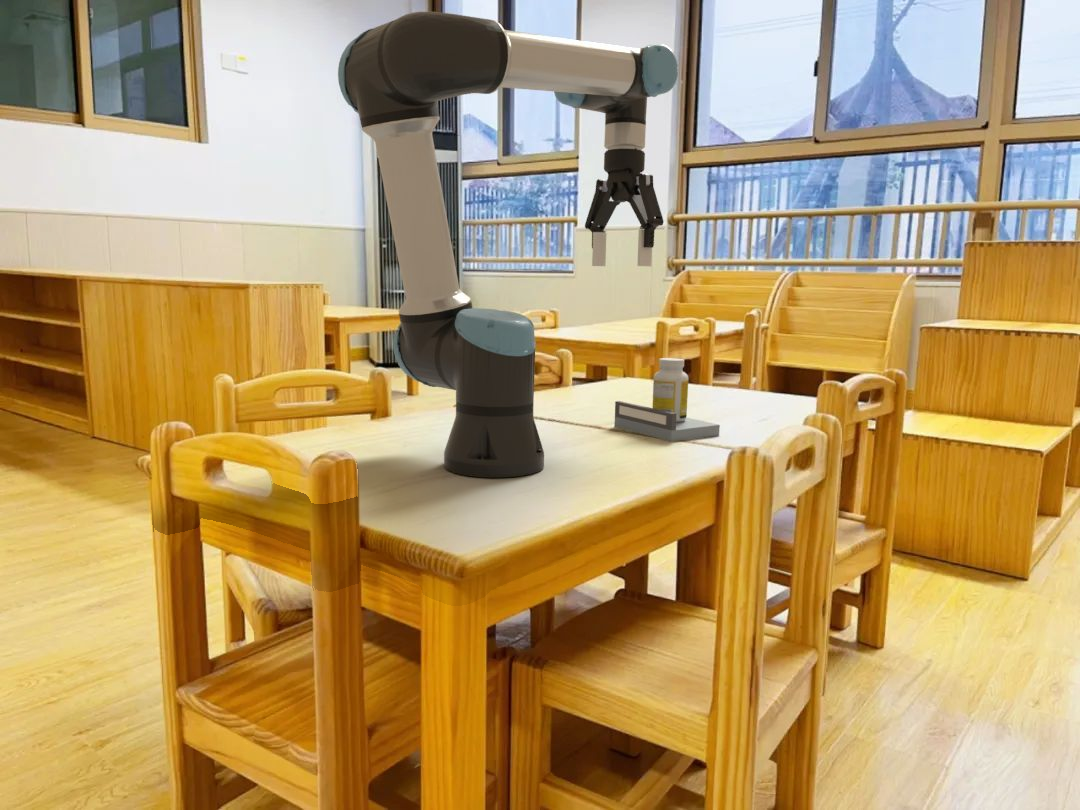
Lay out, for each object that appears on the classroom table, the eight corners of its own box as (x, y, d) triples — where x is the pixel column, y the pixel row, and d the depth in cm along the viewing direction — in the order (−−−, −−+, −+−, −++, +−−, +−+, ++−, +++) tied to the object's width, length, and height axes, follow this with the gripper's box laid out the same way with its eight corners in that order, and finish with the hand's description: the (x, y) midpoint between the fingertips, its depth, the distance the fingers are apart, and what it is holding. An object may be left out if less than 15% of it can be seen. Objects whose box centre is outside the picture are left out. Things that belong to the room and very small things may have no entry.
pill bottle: (684, 417, 157) (687, 358, 155) (688, 423, 151) (691, 361, 149) (650, 416, 157) (653, 357, 156) (653, 422, 151) (656, 360, 149)
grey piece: (670, 441, 144) (671, 413, 143) (613, 426, 157) (614, 401, 156) (719, 435, 151) (720, 408, 150) (660, 421, 164) (662, 397, 163)
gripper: (686, 144, 142) (681, 266, 145) (599, 159, 163) (596, 266, 166) (654, 139, 138) (649, 265, 141) (569, 155, 158) (566, 265, 162)
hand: (620, 266), depth 154 cm, fingers open, 13 cm apart
